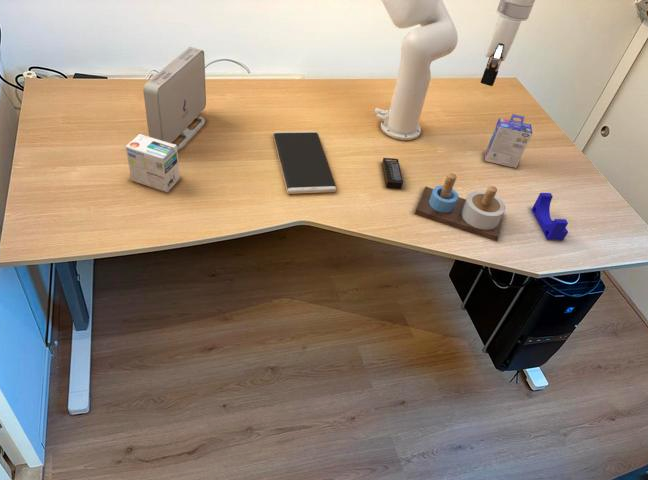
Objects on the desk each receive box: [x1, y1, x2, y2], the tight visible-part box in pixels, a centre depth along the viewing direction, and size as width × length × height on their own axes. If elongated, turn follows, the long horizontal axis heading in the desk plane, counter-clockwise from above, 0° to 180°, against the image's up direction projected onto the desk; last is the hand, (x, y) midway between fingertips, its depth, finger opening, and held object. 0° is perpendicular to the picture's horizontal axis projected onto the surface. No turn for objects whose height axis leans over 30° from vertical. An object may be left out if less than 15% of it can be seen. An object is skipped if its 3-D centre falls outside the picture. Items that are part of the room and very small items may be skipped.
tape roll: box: [429, 185, 459, 213], centre depth 145 cm, size 7×7×4 cm
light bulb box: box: [125, 133, 181, 193], centre depth 138 cm, size 11×7×11 cm, turn 71°
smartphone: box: [273, 130, 337, 195], centre depth 153 cm, size 13×27×2 cm, turn 11°
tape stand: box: [414, 172, 506, 241], centre depth 142 cm, size 22×11×11 cm, turn 69°
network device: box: [142, 46, 207, 151], centre depth 150 cm, size 26×9×20 cm, turn 161°
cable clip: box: [531, 192, 569, 241], centre depth 146 cm, size 12×4×6 cm, turn 5°
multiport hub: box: [381, 157, 404, 190], centre depth 154 cm, size 4×11×2 cm, turn 2°
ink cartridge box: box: [484, 113, 533, 169], centre depth 161 cm, size 10×6×14 cm, turn 78°
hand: (489, 76), depth 141 cm, fingers open, 9 cm apart
